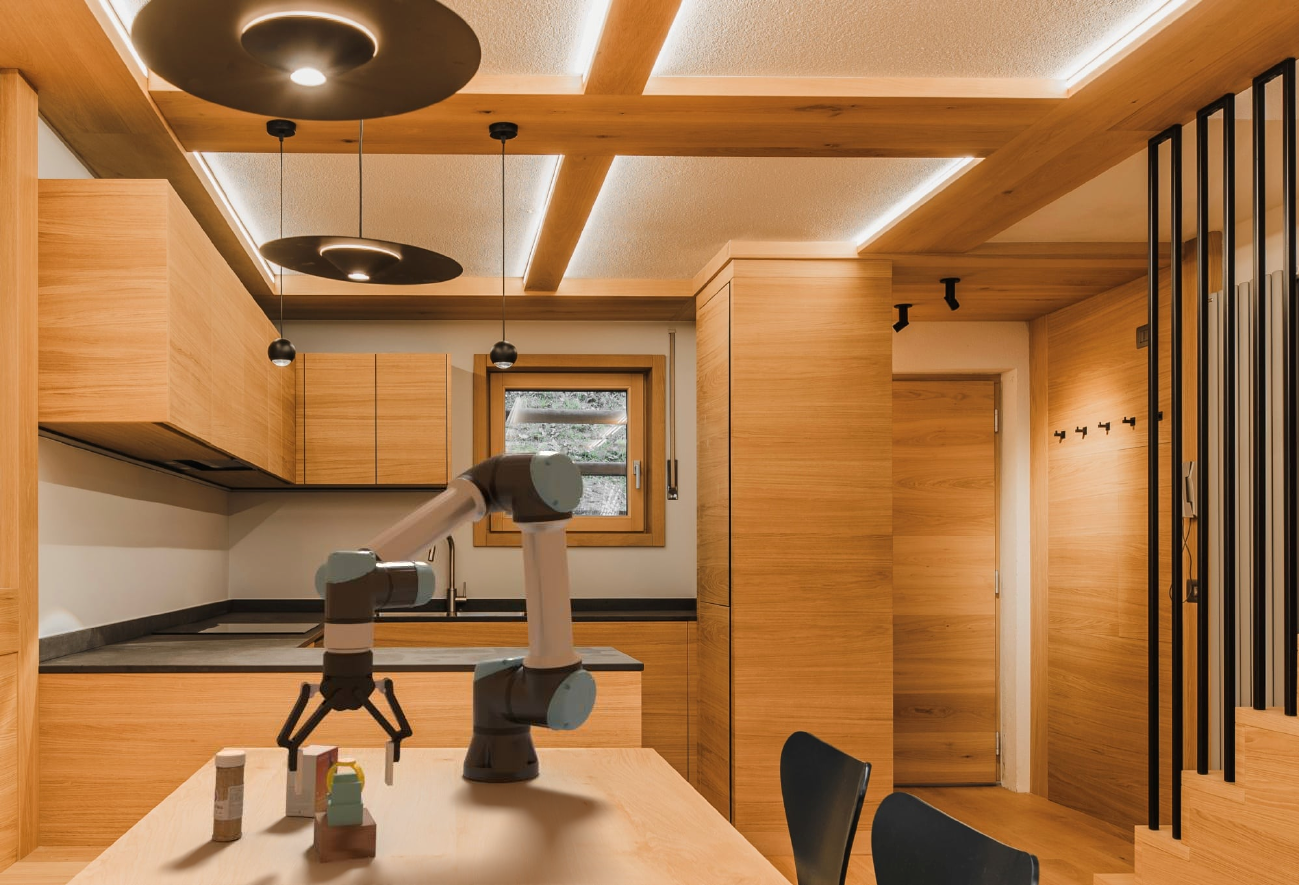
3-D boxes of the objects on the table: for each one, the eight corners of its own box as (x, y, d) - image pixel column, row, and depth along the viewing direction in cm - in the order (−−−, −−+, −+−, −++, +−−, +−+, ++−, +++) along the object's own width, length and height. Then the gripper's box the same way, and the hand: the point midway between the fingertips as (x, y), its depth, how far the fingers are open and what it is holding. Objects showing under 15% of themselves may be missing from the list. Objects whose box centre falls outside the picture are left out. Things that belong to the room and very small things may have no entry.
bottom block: (365, 839, 163) (366, 807, 164) (375, 858, 154) (376, 824, 154) (313, 845, 160) (314, 813, 160) (320, 865, 151) (321, 830, 151)
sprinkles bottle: (206, 838, 162) (210, 752, 163) (233, 832, 166) (237, 747, 167) (220, 844, 159) (224, 756, 160) (248, 837, 163) (251, 752, 164)
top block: (359, 810, 162) (360, 771, 163) (362, 823, 155) (363, 783, 155) (326, 812, 161) (327, 773, 161) (328, 826, 153) (329, 786, 154)
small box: (314, 818, 174) (316, 755, 175) (284, 816, 175) (286, 753, 176) (337, 806, 182) (339, 745, 182) (308, 804, 183) (310, 744, 184)
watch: (366, 799, 158) (369, 760, 159) (355, 804, 156) (359, 764, 156) (332, 793, 160) (336, 755, 160) (322, 798, 157) (325, 759, 158)
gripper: (423, 643, 168) (419, 775, 166) (262, 650, 158) (256, 790, 156) (433, 648, 161) (429, 785, 160) (265, 656, 151) (260, 802, 149)
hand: (344, 788), depth 158 cm, fingers open, 13 cm apart
